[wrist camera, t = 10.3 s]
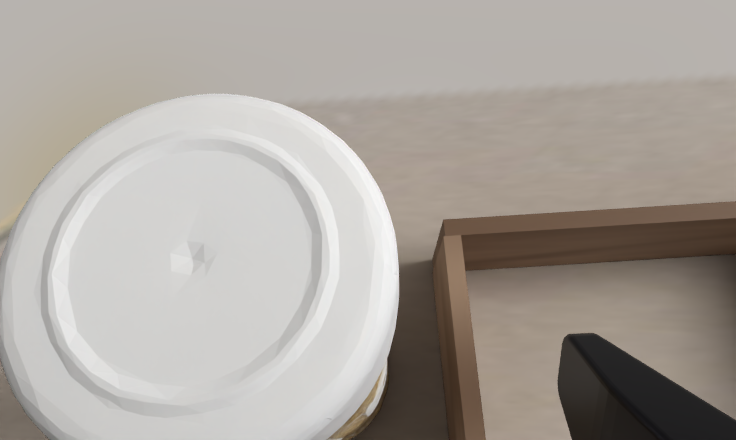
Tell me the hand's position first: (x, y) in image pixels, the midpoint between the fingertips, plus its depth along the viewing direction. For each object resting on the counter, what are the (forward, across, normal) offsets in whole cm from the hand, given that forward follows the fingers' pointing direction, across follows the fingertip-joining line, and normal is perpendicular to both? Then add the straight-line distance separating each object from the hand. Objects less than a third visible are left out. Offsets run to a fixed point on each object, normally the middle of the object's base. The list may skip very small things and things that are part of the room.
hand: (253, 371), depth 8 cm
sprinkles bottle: (+8, 0, +7) cm, 11 cm away
